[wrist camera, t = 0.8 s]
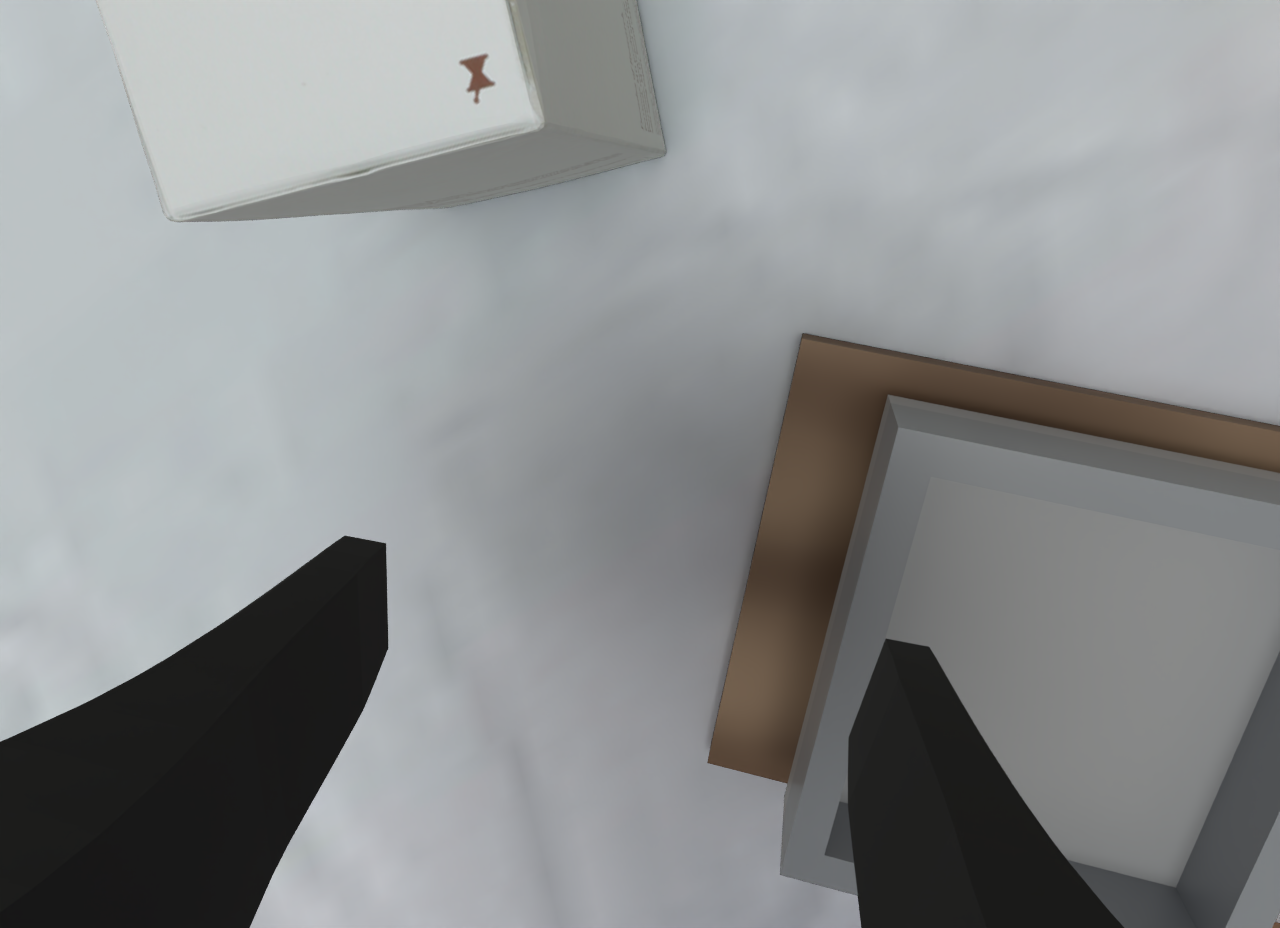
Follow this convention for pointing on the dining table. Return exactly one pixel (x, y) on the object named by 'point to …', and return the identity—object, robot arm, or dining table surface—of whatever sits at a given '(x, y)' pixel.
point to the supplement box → (378, 100)
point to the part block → (1276, 925)
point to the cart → (1072, 653)
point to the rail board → (831, 493)
